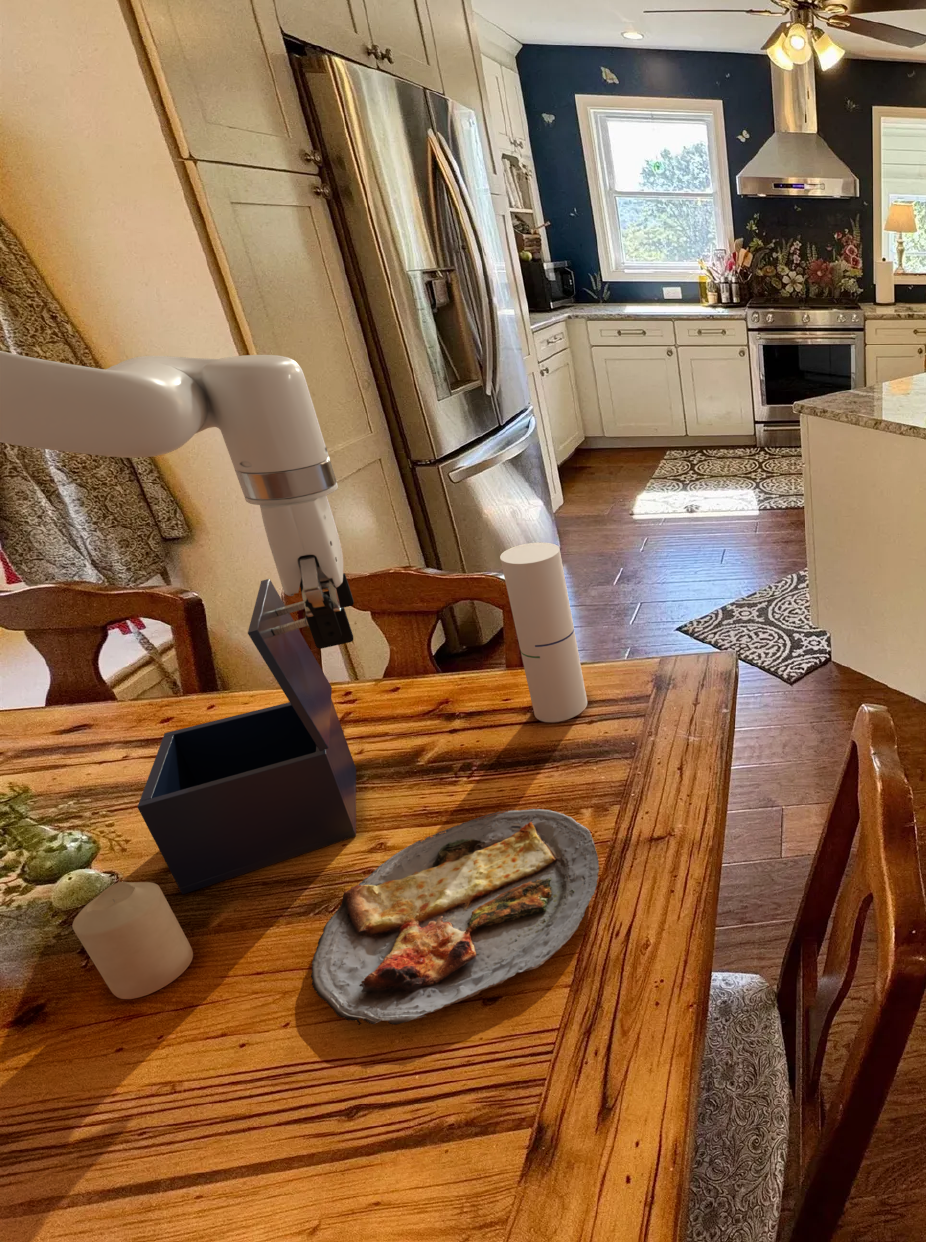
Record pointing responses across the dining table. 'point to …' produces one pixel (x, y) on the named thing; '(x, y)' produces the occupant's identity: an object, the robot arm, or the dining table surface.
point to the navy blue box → (247, 795)
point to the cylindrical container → (545, 630)
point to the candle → (133, 939)
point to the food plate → (456, 915)
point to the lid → (292, 661)
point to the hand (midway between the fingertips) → (336, 625)
